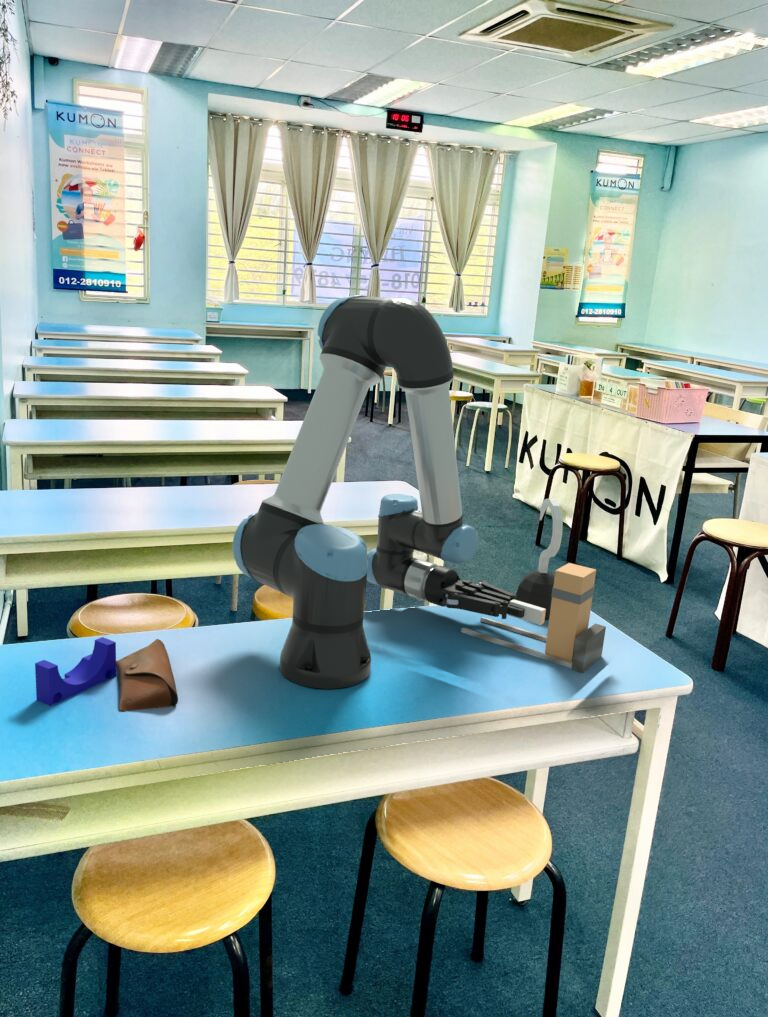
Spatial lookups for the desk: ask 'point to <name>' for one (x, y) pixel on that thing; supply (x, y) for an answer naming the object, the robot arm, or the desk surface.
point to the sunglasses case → (146, 679)
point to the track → (584, 649)
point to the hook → (543, 565)
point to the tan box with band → (569, 609)
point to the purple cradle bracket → (76, 674)
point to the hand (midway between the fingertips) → (543, 617)
